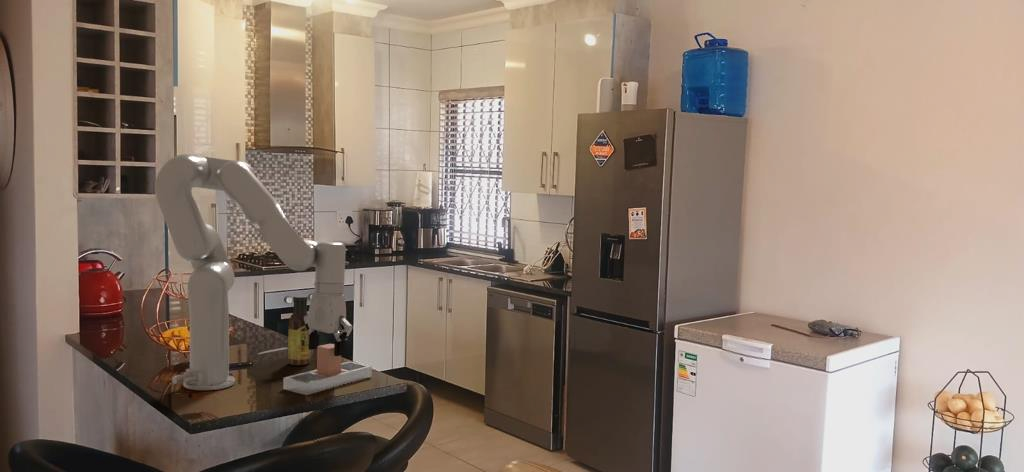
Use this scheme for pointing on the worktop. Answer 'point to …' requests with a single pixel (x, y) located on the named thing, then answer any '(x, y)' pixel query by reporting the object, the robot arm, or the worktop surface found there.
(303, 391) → the hole rail
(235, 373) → the worktop surface
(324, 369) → the square peg
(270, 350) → the chef's knife
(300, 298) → the sauce bottle
